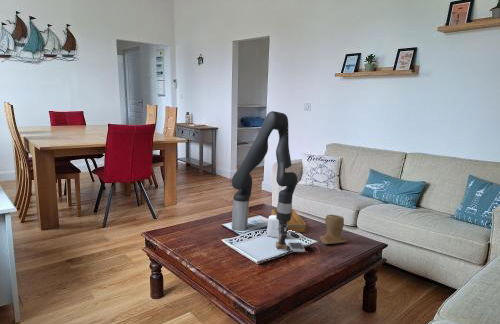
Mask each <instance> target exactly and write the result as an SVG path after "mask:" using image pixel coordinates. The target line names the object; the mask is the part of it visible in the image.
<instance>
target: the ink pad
mask: <svg viewBox="0 0 500 324" xmlns="http://www.w3.org/2000/svg"><path fill="white" fill-rule="evenodd" d="M287 244H288V245H289V246H288V245H287V246H288V248H289V247H290V248H289V250H290V249H291V250H293V253H294V252H295V253H305V250H306V249H305V246H304V245H303V244H302V242H288V243H287ZM291 250H290V251H291Z"/></svg>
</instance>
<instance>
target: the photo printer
mask: <svg viewBox="0 0 500 324" xmlns="http://www.w3.org/2000/svg"><path fill="white" fill-rule="evenodd" d="M278 225H279V220H277V219H276V215H269V216H268V220H267V228H266V229H267V230H266V236H267V237H271V238H276V239H279V230H278Z"/></svg>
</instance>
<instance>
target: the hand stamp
mask: <svg viewBox="0 0 500 324" xmlns="http://www.w3.org/2000/svg"><path fill="white" fill-rule="evenodd" d="M283 235H285V234H283ZM280 241H281V234H279V238H278V241H275V248H277V249H287V248H288V245H287V243H286V241H285V244H284V245H283V244H280ZM277 249H276V250H277ZM287 250H288V249H287Z"/></svg>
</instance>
